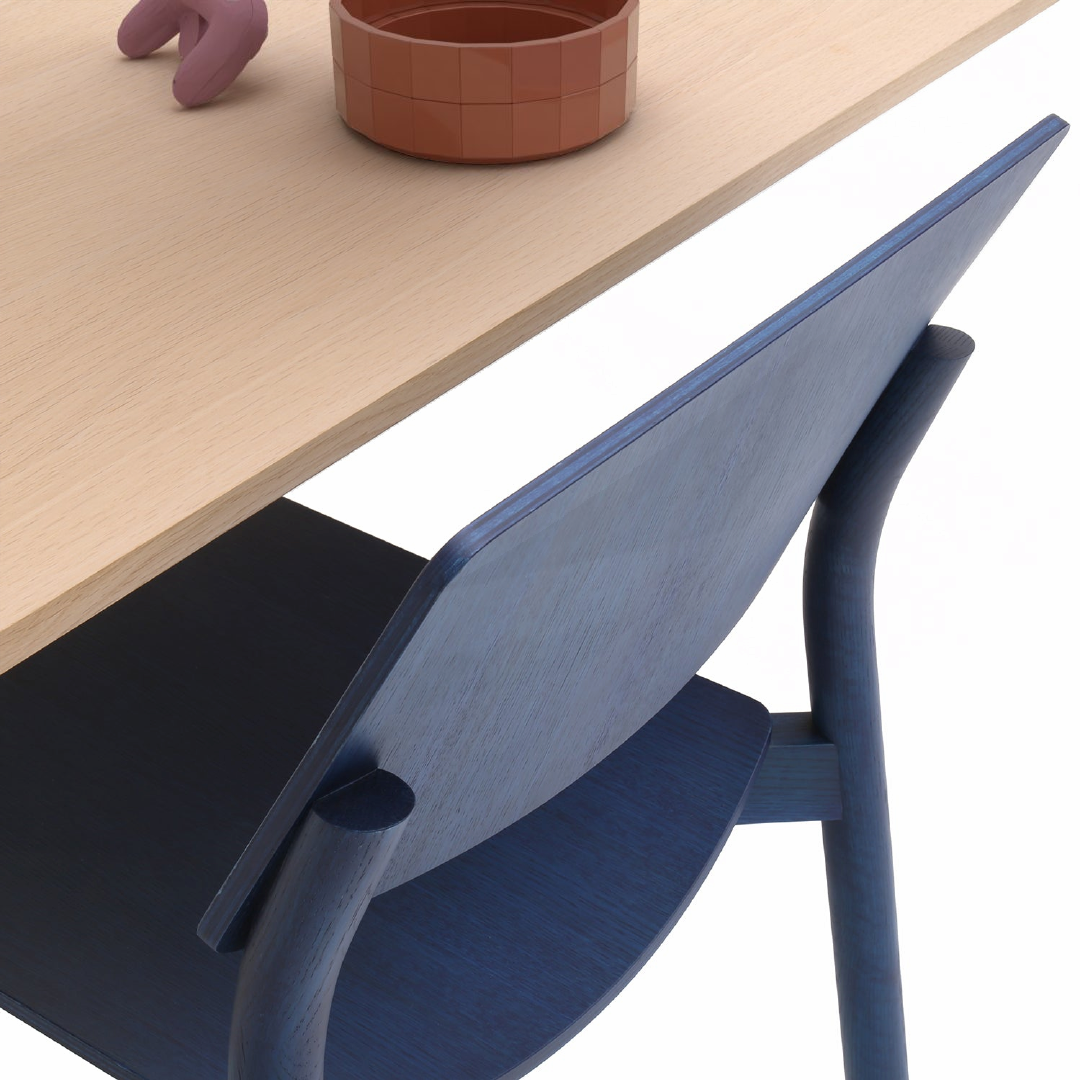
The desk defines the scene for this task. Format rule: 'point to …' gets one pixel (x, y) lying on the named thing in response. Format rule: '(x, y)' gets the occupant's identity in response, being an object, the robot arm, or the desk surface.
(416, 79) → the bowl
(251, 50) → the video game controller
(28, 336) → the desk surface
